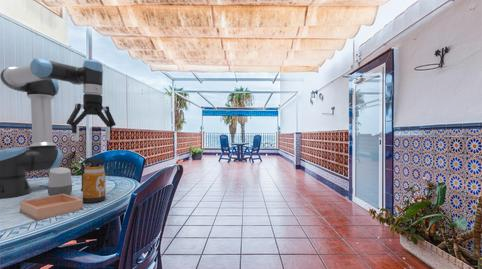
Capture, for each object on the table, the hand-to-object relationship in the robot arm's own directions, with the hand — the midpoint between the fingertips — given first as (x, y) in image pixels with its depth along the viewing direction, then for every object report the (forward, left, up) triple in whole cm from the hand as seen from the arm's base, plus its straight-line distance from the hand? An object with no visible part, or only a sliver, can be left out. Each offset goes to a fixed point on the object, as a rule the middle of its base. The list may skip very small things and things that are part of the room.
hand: (92, 140), depth 110 cm
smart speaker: (-20, -5, -28) cm, 35 cm away
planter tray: (+1, -16, -28) cm, 32 cm away
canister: (0, 0, -28) cm, 28 cm away
